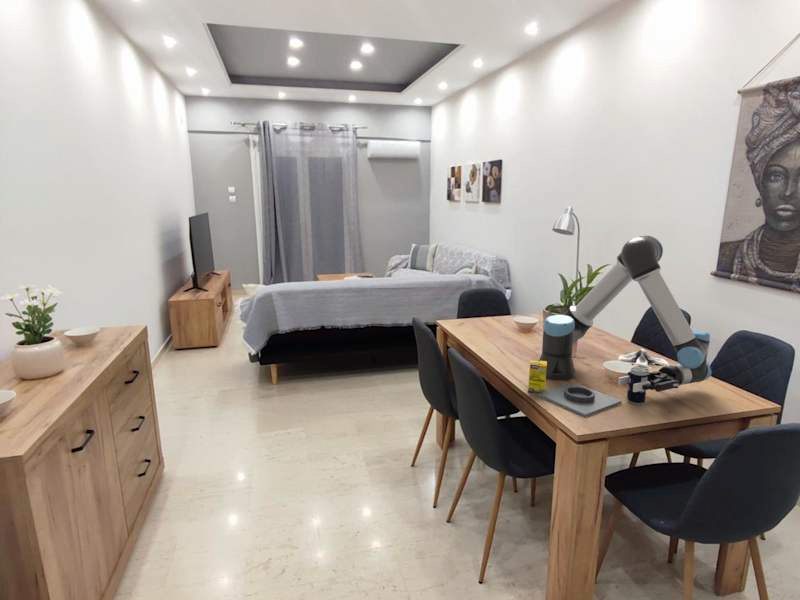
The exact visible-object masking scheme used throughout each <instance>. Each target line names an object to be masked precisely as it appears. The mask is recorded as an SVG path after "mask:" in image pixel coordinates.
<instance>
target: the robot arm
mask: <svg viewBox="0 0 800 600" xmlns="http://www.w3.org/2000/svg"><path fill="white" fill-rule="evenodd" d="M663 252H664V247H663V245H662V243H661V241H660V240H659V239H657V238H656V237H654V236H651V235H640V236H637V237H633V238H631V239H629V240H628V241H627V242H626V243H624V244H623V247H622V249H621V252H620V253H619V254H618V255H617V256H616V263H615V264H614V266H612V267H611V268H610V270H609V271H608V272H607V273H605V274H604V276H603V277H602V278H601V279H600V280H599V281H598V282H597V283H596V284H595V285H594V286H593V288H591V290H590V291H589V292H588V293H587V294H586V295H585V296H584V297H583V298H582V299H581V300H580V301H579V302H578V303H577V305H570V306H569V307H568V308H567V309H566V310H565V312H563V314H555V315H549V316H548V317H546V318H545V319H544V322H543V325H542V326H543V327H542V345H541V346H542V348H541V355H540V358H539V359H538V361H547V370H546V379H549V378H550V380H557V381H568V380H571V379H574V378H575V376H576V369H575V366H574V360H573V346H574V343H576V341H578V340H579V339H582V337H584V336H585V335H586V333H587V331H588V330H589V329H590V328H592V326H594V319H595V318H596V317H597V316H598V315H599V314H600V313H601V312H602V311H603V310H604V309H605V308H606V307H607V306H608V305H609V304H610V303H611V302H612V301H613V300H614V299H615V298H617V296H618V295H619V294H620V293H621V292H622V291H624V289H625V288H626V287H627V286H628V285H629V284H630V283H631V282H632V281H635V282H637V283H638V285H639V286H640V288H641V290H642V292H643V294H644V296H645V297H646V299H647V301H648V303H649V304H650V306H651V308H652V310H653V311H654V314H655V316H656V317H657V319H658V321H659V322H660V324H661V326H662V328H663V330H664V332H665V334H666V336H667V337H668V339H669V341H670V342H671V345H672V346H673V348H674V350H675V353H676V356H677V357H676V358H677V359H676V360H677V362H678V363H677V364H672V365H670V366H661V368H659V370H658V371H657V370H656V371H649V368H645V369H646V370H647V373H648V379H647V381H646V382H641V383H636V384H634V385H633V392H638V391H643V390H646V391H648V390H651V391H654V390H655V392H658V393H660V392H664V391H666V390H672V389H678V388H679V386H682V385H688V384H689V385H690V384H694V383H700V382H704V381H706V380H708V379H709V378H710V377H711V376H712V374H713V373H712V372H713V371H712V369H711V365H710V364H709V363H708V362H707V359H708V353H709V347H710V343H711V341H710V339H711V335H710V333H709V332H707V331H704V330H700V329H692V328H691V325H690V324H689V322H688V320H687V319H686V317H685V316H684V313H683V311H682V310H681V307H679V304H678V303H677V301H676V299H675V298H674V295H673V294H672V291H671V290H670V288H669V287H668V285H667V283H666V281H665V279H664V278H663V275H662V274H661V269H662V266H660V264H659V262H660V260H661V259H662V256H663ZM629 374H630V371H628V372H627V375H625V376H620V377H618V380H617V385H618V386H624V385H628V383H629Z"/></svg>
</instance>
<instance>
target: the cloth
mask: <svg viewBox="0 0 800 600" xmlns="http://www.w3.org/2000/svg"><path fill="white" fill-rule="evenodd" d="M617 360H618V361H619V360H622V361H621V362H627V361H630V363H633V362H634V361H635V362H634V363H633V364H636V365H638V366H640V367H639V368H644V367H646V368H645V369H652V367H651V366H649V364H652V363H654V364H658V365H657V366H660V365H666V366H669V365H670V364H669V362H668V361H666V359H664V358H658V357H651V356H650V355H649V354H648V353H647V351H646V350H645V349H644V348H640V349H638V350H637V351H634V352H631V353H626V354H621V355H620V356H618V358H617ZM648 362H649V363H648ZM654 364H653V365H654ZM638 366H637V367H638Z"/></svg>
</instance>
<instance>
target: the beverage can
mask: <svg viewBox="0 0 800 600" xmlns="http://www.w3.org/2000/svg"><path fill="white" fill-rule="evenodd" d="M646 369H647V368H644V367H638V366H633V367H631V368H630V371H629V372H630V374H629V383H628V384H627V385H628V386H627V392H626V393H627V394H626V400H628V402H629V403H630V404H632V405H642V404H643V403H645V402H646V396H647V395H646V394H647V390H643V391H638V392H633V385H634V384H636V383H641V382H646V381H647V379H648V373H647V370H646Z"/></svg>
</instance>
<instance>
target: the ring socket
mask: <svg viewBox="0 0 800 600" xmlns="http://www.w3.org/2000/svg"><path fill="white" fill-rule="evenodd" d="M538 396H540V397H539V398H541V397H542V398H541V399H543V398H544V399H543V400H545V399H546V400H545V401H547V400H548V402H550V401H551V402H550V403H552V402H553V403H552V404H554V403H555V405H556V404H557V406H559V407H561V408H563V407H564V409H566V410H568V411H570V412H572V411H573V412H572V413H574V412H575V414H577V415H580V416H581V415H582V416H581V417H583V416H584V417H583V418H587V417H589V416H592V415H594V414H597V412H598V413H600V412H602V411H605V410H609V409H611V408H613V407H617V406H618V405H621V404H622V403H623V401H622V400H620V399H618V398H615V397H612V396H610V395H607V394H605V393H603V392H600V391H598V390H595V389H591V388H589V387H587V386H584V385H582V384H579V383H577V382H572V383H568V384H565V385H561V386H558V387H555V388H552V389H548V390H545V392H541V393H537V397H538Z"/></svg>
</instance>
